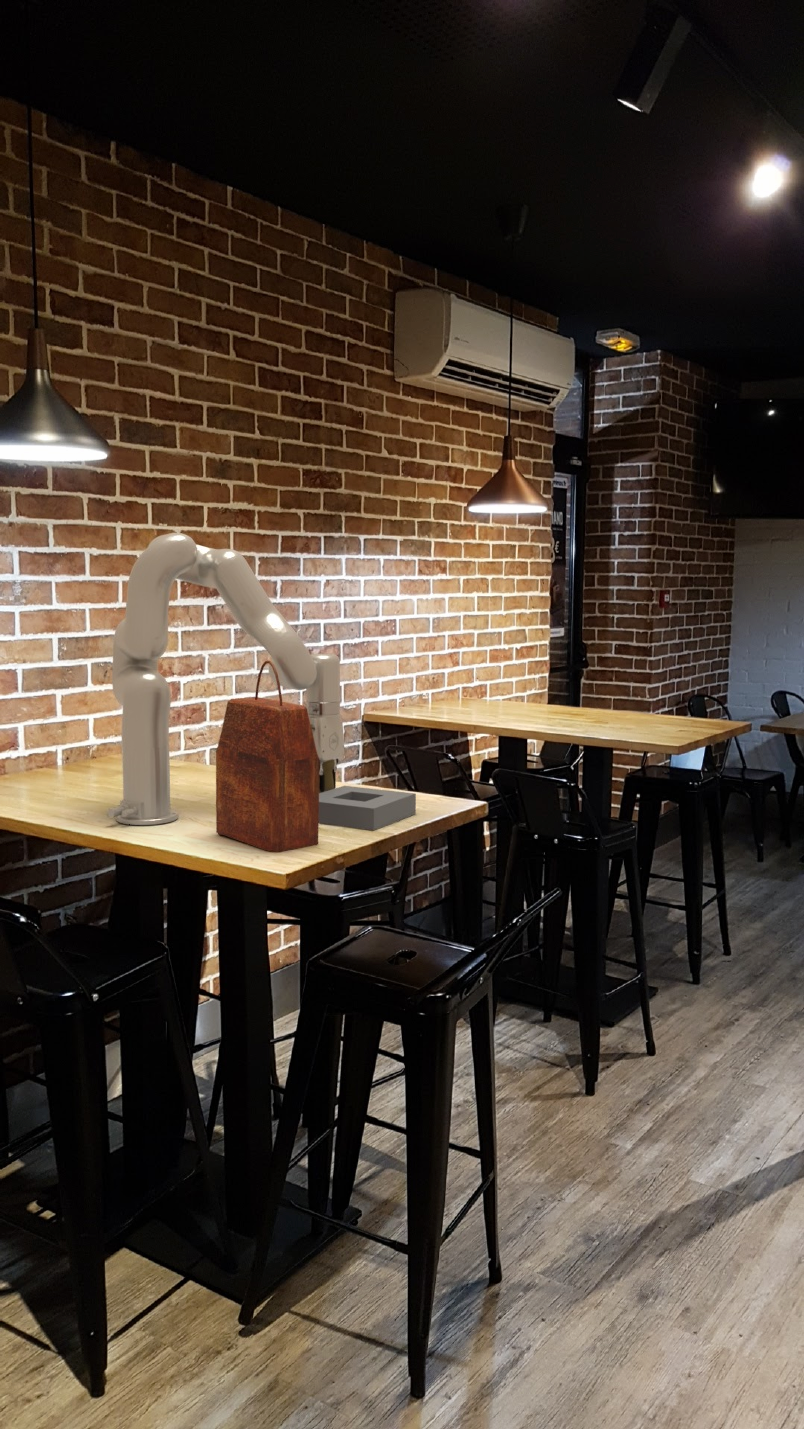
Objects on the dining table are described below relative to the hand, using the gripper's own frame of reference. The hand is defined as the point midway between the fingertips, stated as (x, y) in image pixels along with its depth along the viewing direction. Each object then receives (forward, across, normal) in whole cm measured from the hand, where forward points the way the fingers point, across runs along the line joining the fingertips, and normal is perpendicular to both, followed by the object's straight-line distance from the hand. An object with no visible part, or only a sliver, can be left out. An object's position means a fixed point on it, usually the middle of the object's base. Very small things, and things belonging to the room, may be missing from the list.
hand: (323, 789), depth 237 cm
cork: (+3, 0, 0) cm, 3 cm away
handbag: (+4, -34, -9) cm, 35 cm away
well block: (+3, -8, -14) cm, 17 cm away
